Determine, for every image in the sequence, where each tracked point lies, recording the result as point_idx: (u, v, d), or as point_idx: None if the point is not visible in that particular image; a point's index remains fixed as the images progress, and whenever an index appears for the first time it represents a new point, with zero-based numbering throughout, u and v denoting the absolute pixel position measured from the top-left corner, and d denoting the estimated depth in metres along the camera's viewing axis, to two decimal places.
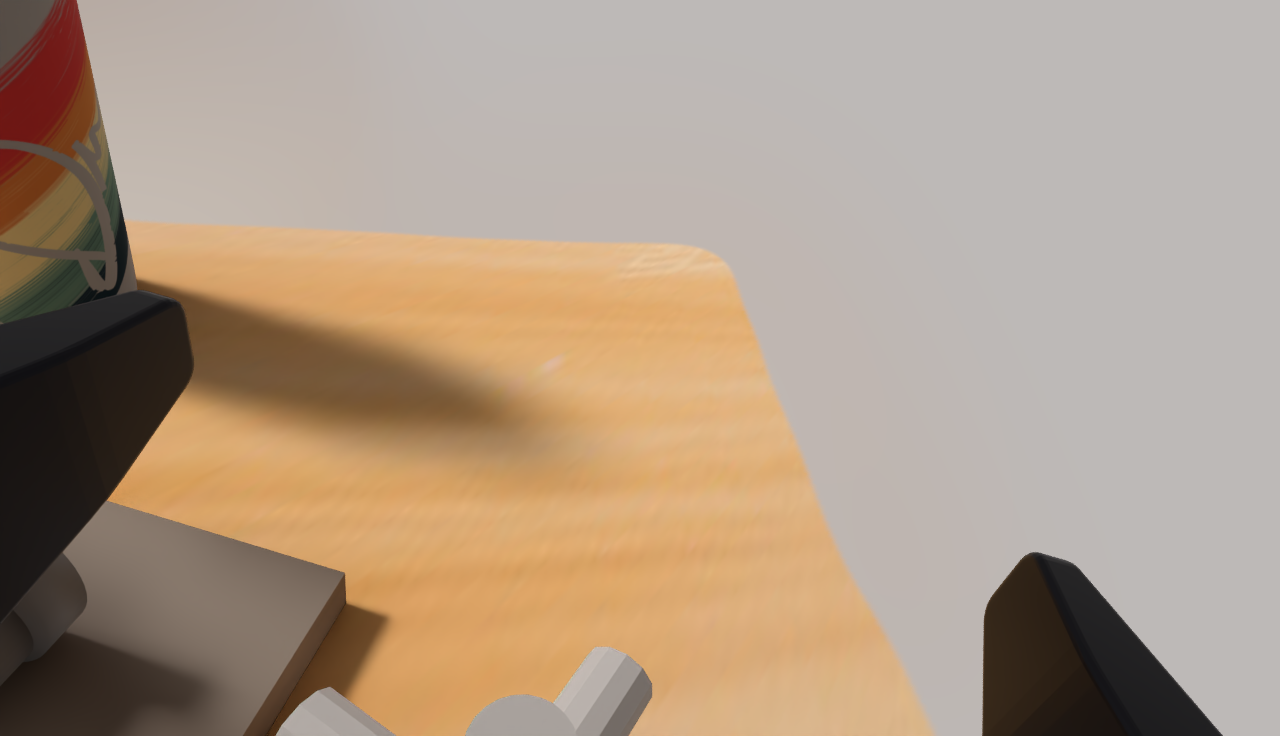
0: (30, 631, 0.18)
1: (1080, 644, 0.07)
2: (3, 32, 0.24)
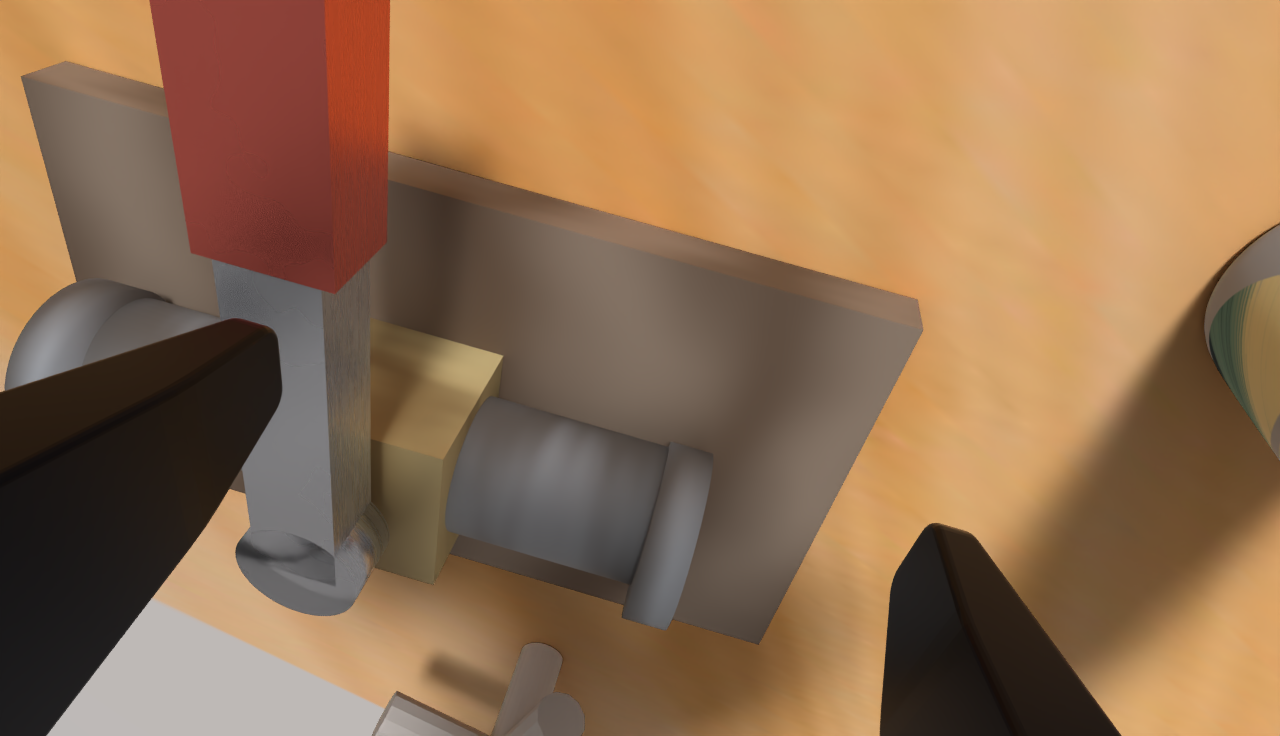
0: None
1: (963, 609, 0.07)
2: None
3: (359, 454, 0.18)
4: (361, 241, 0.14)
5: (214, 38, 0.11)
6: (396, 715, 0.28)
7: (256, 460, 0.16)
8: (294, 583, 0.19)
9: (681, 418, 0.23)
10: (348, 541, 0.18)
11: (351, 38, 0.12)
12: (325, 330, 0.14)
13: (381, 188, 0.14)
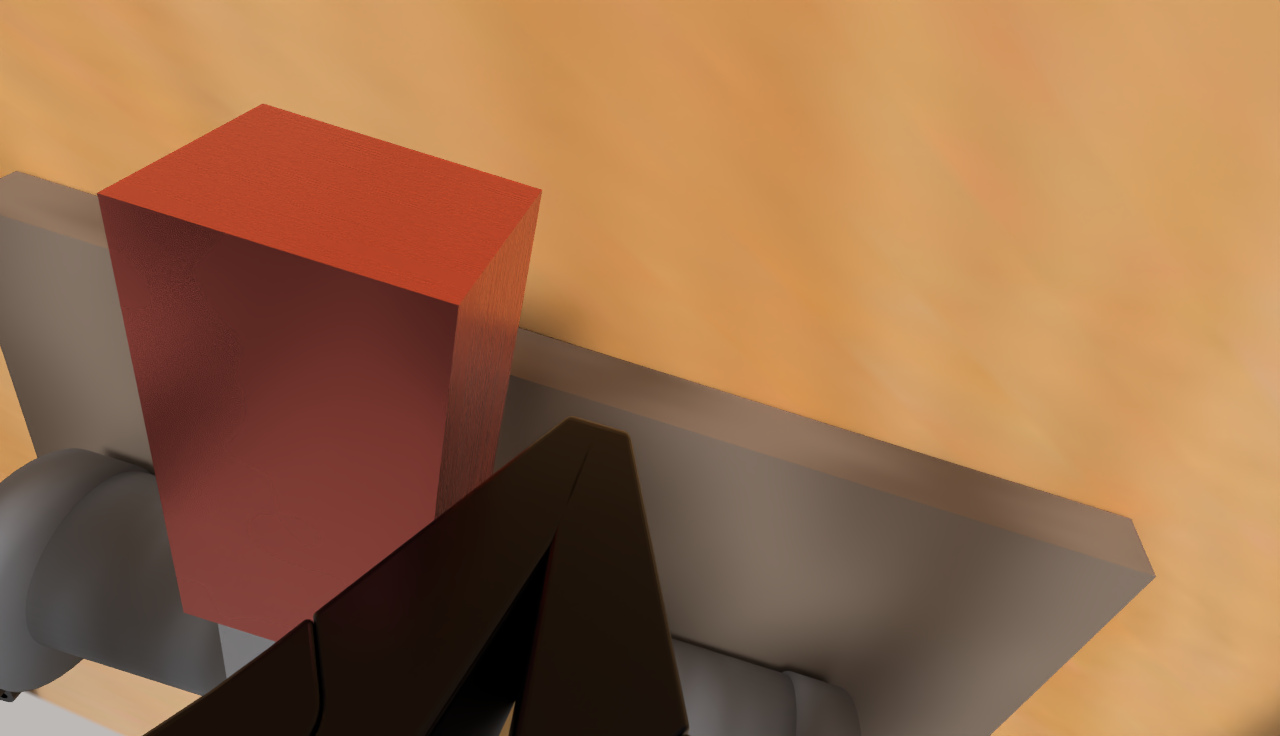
0: None
1: (567, 492, 0.07)
2: None
3: None
4: None
5: (237, 359, 0.06)
6: None
7: None
8: None
9: (805, 639, 0.18)
10: None
11: (480, 349, 0.07)
12: None
13: None
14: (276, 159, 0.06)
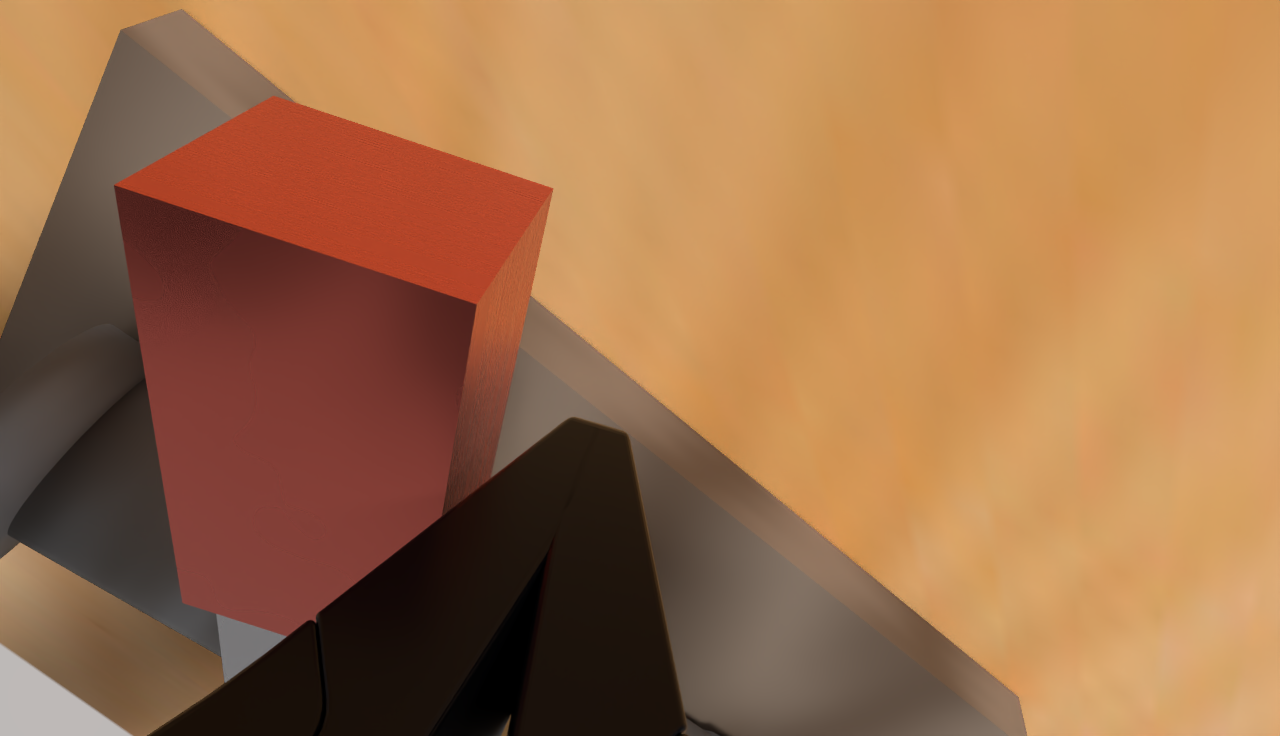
0: None
1: (566, 492, 0.07)
2: None
3: None
4: None
5: (248, 352, 0.06)
6: None
7: None
8: None
9: (740, 712, 0.20)
10: None
11: (492, 346, 0.07)
12: None
13: None
14: (289, 154, 0.06)
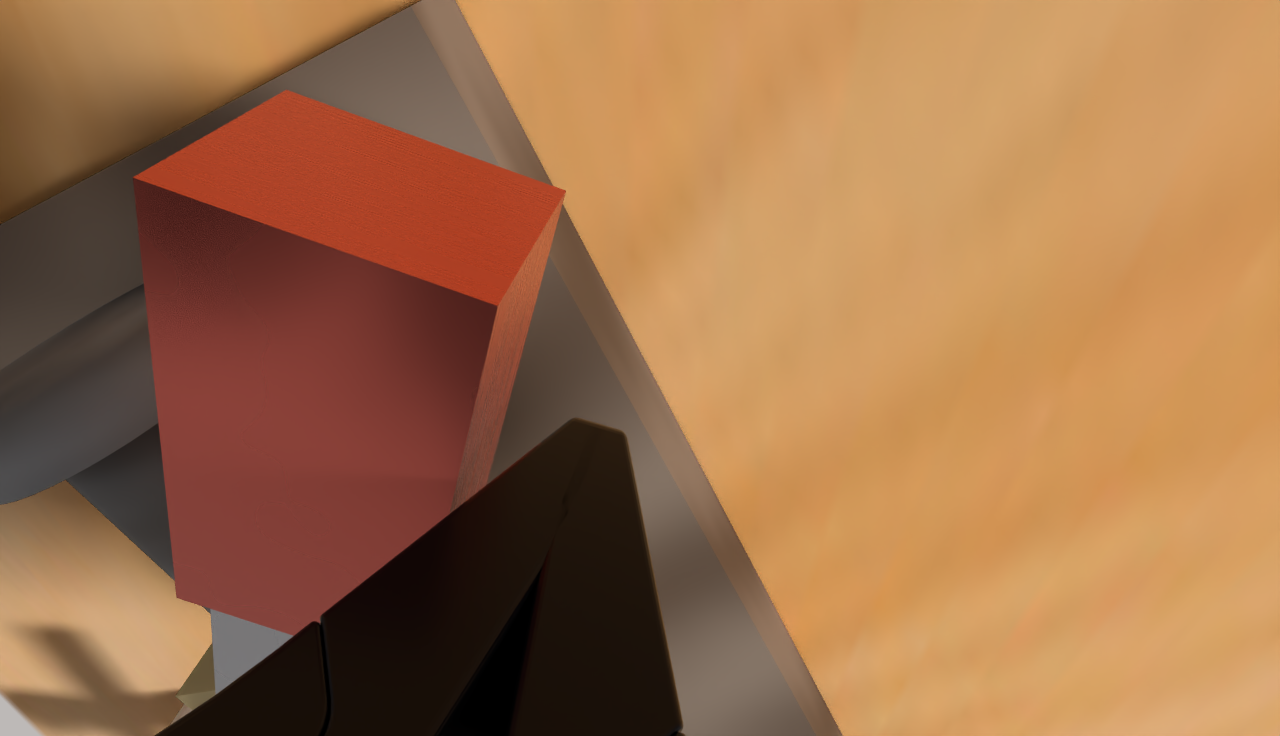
0: None
1: (563, 491, 0.07)
2: None
3: None
4: None
5: (259, 347, 0.06)
6: None
7: None
8: None
9: None
10: None
11: (504, 347, 0.07)
12: None
13: (482, 486, 0.09)
14: (306, 148, 0.06)
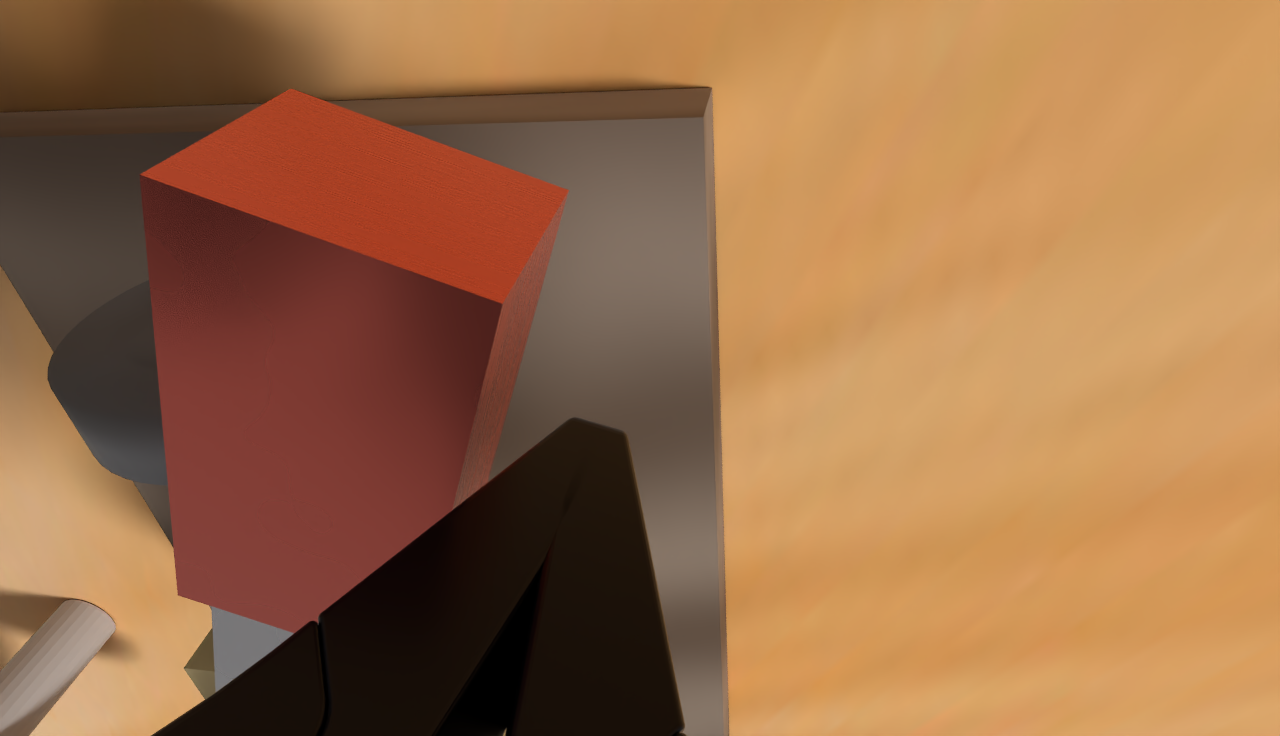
0: None
1: (564, 491, 0.07)
2: None
3: None
4: None
5: (264, 345, 0.06)
6: None
7: None
8: None
9: None
10: None
11: (507, 345, 0.07)
12: None
13: None
14: (310, 148, 0.06)
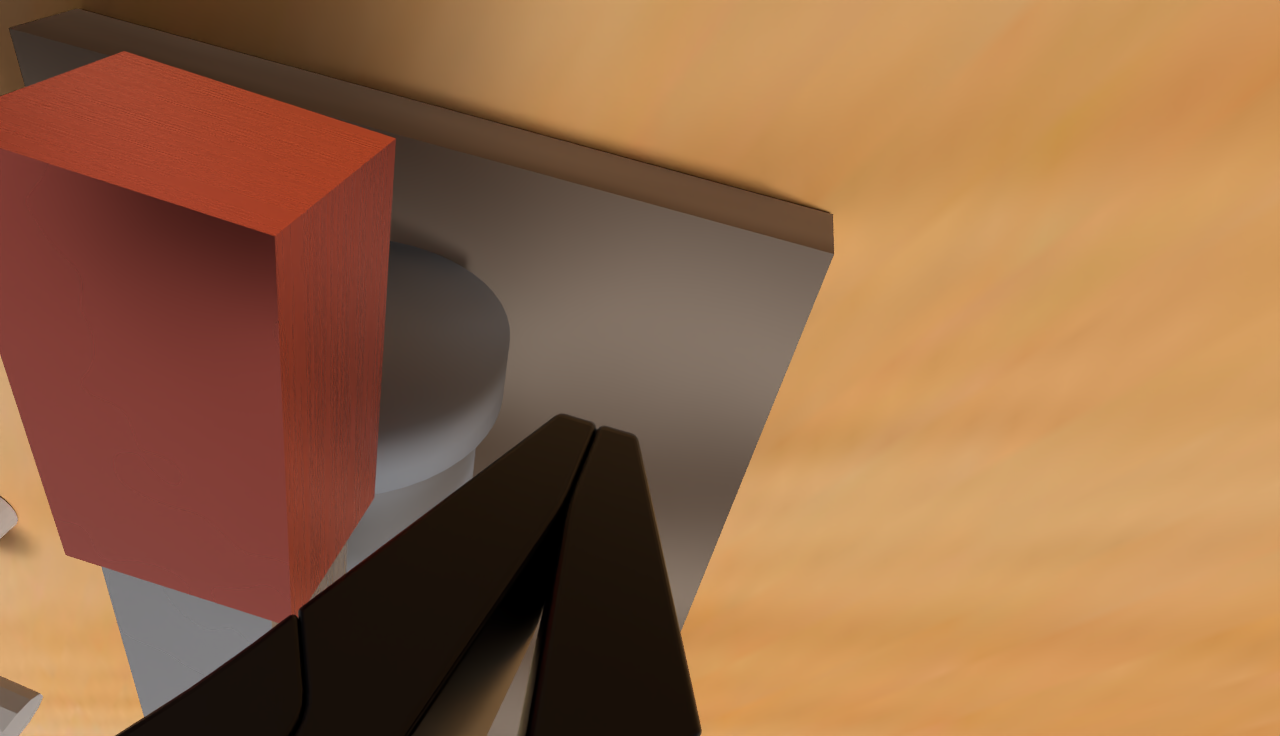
0: None
1: (576, 495, 0.07)
2: None
3: None
4: (335, 531, 0.09)
5: (81, 293, 0.06)
6: None
7: None
8: None
9: None
10: None
11: (327, 289, 0.07)
12: None
13: (368, 445, 0.09)
14: (121, 101, 0.06)
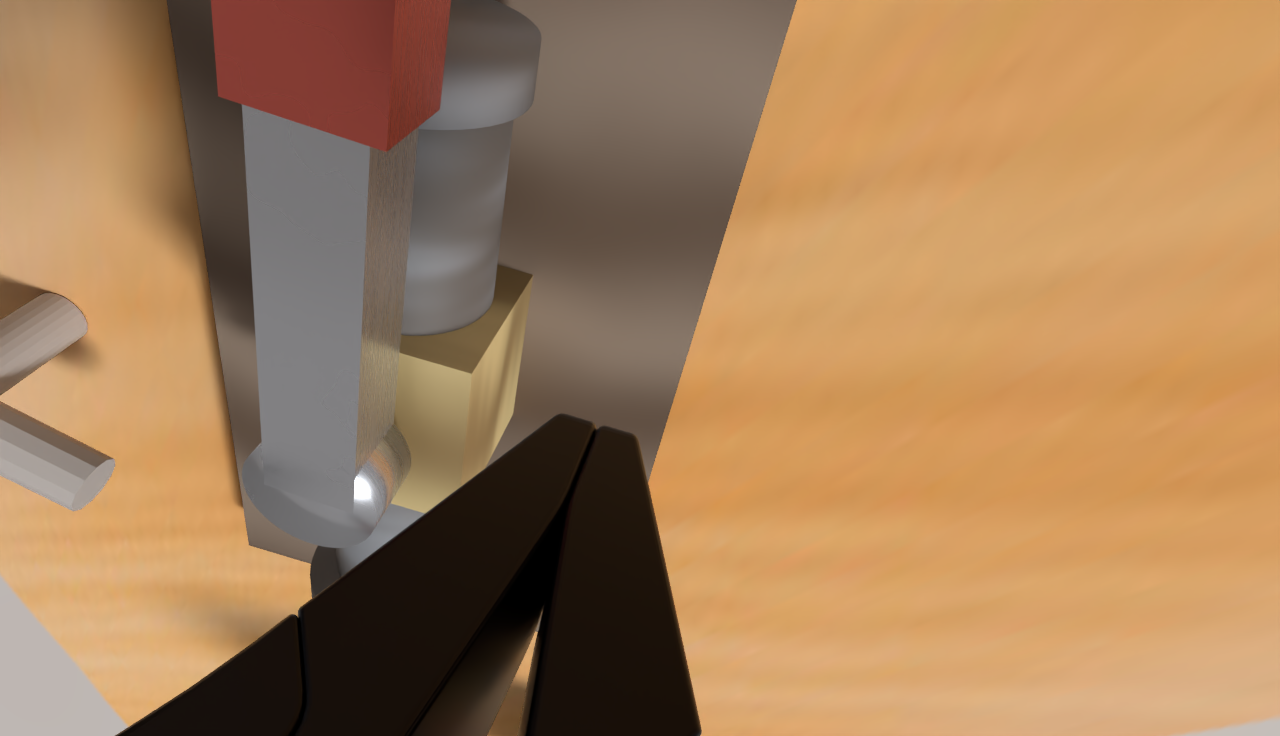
0: None
1: (576, 495, 0.07)
2: None
3: (388, 365, 0.16)
4: (417, 96, 0.12)
5: None
6: None
7: (274, 360, 0.15)
8: (305, 509, 0.17)
9: None
10: (369, 463, 0.17)
11: None
12: (370, 200, 0.12)
13: (441, 39, 0.12)
14: None
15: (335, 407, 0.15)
